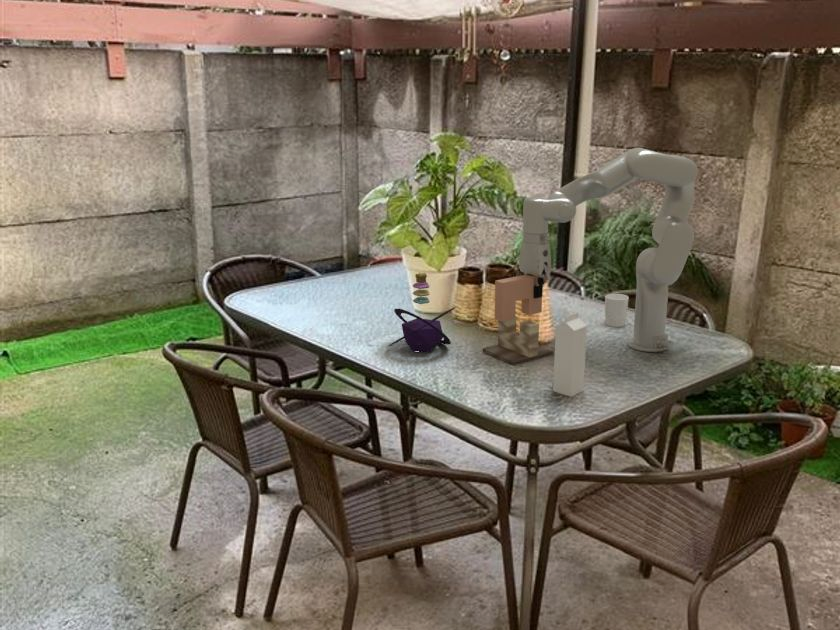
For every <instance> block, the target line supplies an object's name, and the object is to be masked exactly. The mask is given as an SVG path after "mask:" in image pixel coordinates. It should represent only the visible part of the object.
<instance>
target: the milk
mask: <svg viewBox="0 0 840 630" xmlns="http://www.w3.org/2000/svg"><path fill="white" fill-rule="evenodd" d="M587 329H588V326H587V324H585V322H583V321H582V319H580V317H579V312H575V313H572V314H569V315H567V316H565V318H564V322H563V323H560V324H558V325H555V336H554V338H555V339H554V361H553V363H554V364H553V365H554V366H553V389H552V390H553V392H554V393H557V394H561V395H564V396H567V397H570V398H571V397H574V396H576V395H577V394H580V393H583V391H584V389H585V388H584V387H585V370H586V368H585V367H586V353H587V352H586V351H587V350H586V349H587V347H586V346H587V332H588V331H587Z"/></svg>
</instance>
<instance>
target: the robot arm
mask: <svg viewBox="0 0 840 630" xmlns="http://www.w3.org/2000/svg"><path fill="white" fill-rule="evenodd" d="M698 172H699V171H698V166H697V164H696V162H694V161H693V159H690V158H688V157H684V156H681V155H677V154H666V153H661V152H659V151H658V152H657V151H653V150H650V149H647V148H643V147H634V148H630V149H629V150H627V151H625V152H624V153H622V154H621V155H618V156H617V157H616V158H615V159H612V160H611V161H609V162H608V163H606V164H604V165H603V166H601V167H599V168H598V169H595V170H594V171H592V172H589V173H588V174H585V175H584V176H582V177H579V178H577V179H575V180H573V181H571V182H569V183H566V184H565V185H563V186H562V187H560V188H559V189H557V190H555V191H554V192H552V193H551V194H550V195H549V196H548V197H547V198H546V197H544V196H528V197H526V198H524V200H523V204H522V205H523V207H522V241H521V244H520V248H519V259H518V265H519V266H518V269H520V271H521V272H523V273H522V275H526V274H530V275H533V276H535V286H534V298H535V299H536V298H540V297H542V298H543V294H544V293H543V287H544V285H545V283H546V282H547V281H549V280H551V273H552V256H551V248H550V243H548V241H549V236H548V235H549V233H548V232H549V230H548V229H549V222H551V223H561V224H562V223H568V222H570V221H572V220H573V219H574V218H575V216H576V215H577V206H579V205H581V204H583V203H585V202H588V201H589V200H593V199H602V198H605V197H609V196H611V195H613V194H614V193H616V192H618V191H620V190H622V188H624V187H625V186H627V185H629V184H631V183H633V182H634V181H636V180H637V179H640V180H643V181H646V182H647V181H648V182H649V183H650V182H651V183H654V184H661V185H663V186H664V198H663V201H662V204H661V207H660V209H659V212H658V214H657V217H656V219H655V221H654V224H653V226H652V230H651V234H652V238H653V240H654V241H655V242H656V243H657V244H658V247H647V248H645V249H644V250H642V251H641V252H640V253H639V255H638V256H637V260H636V262H635V263H636V264H635V265H636V266H635V275H636V276H635V277H636V292H635V293H636V294H635V304H634V305H635V309H634V321H633V322H634V324H633V336H632V337H631V338H629V339H628V340H627V345H628V346H629V347H630V348H631V349H634V350H637V351H640V352H647V353H657V352H658V353H659V352H665V351H666V350H668V349H671V348H672V346H673V345H674V341H673V340H670V339H668V334H667V333H666V326H667V325H666V322H667V313H668V312H667V310H668V300H669V286H671V285H673V284H674V283H675V282H676V281H677V280H678V279H679V278H680V276H681V275H682V272H683V269H684V267H685V265H686V262H687V260H688V258H689V255H690V252H691V250H692V247H693V245H694V240H695V233H694V229H693V227H692V225H691V224H690V223H689V222H688V218H689V216H690V213H691V210H692V207H693V204H694V201H695V185H694V182H695V181H696V179H697V178H698V174H699V173H698ZM539 278H540V280H539Z"/></svg>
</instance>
